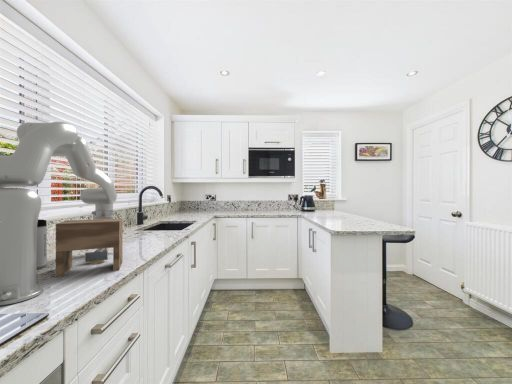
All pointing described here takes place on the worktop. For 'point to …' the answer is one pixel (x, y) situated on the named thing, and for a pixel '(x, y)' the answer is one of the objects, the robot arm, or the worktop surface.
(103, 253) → the scraper
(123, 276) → the worktop surface
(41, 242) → the travel mug
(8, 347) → the worktop surface
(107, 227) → the wooden step stool
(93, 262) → the puck
